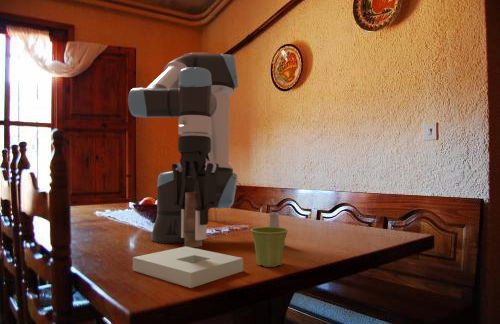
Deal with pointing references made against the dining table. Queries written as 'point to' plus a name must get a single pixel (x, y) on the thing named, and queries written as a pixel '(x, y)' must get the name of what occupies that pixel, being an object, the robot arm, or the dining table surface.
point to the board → (188, 266)
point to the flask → (274, 220)
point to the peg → (190, 220)
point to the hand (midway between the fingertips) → (193, 237)
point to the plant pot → (269, 245)
